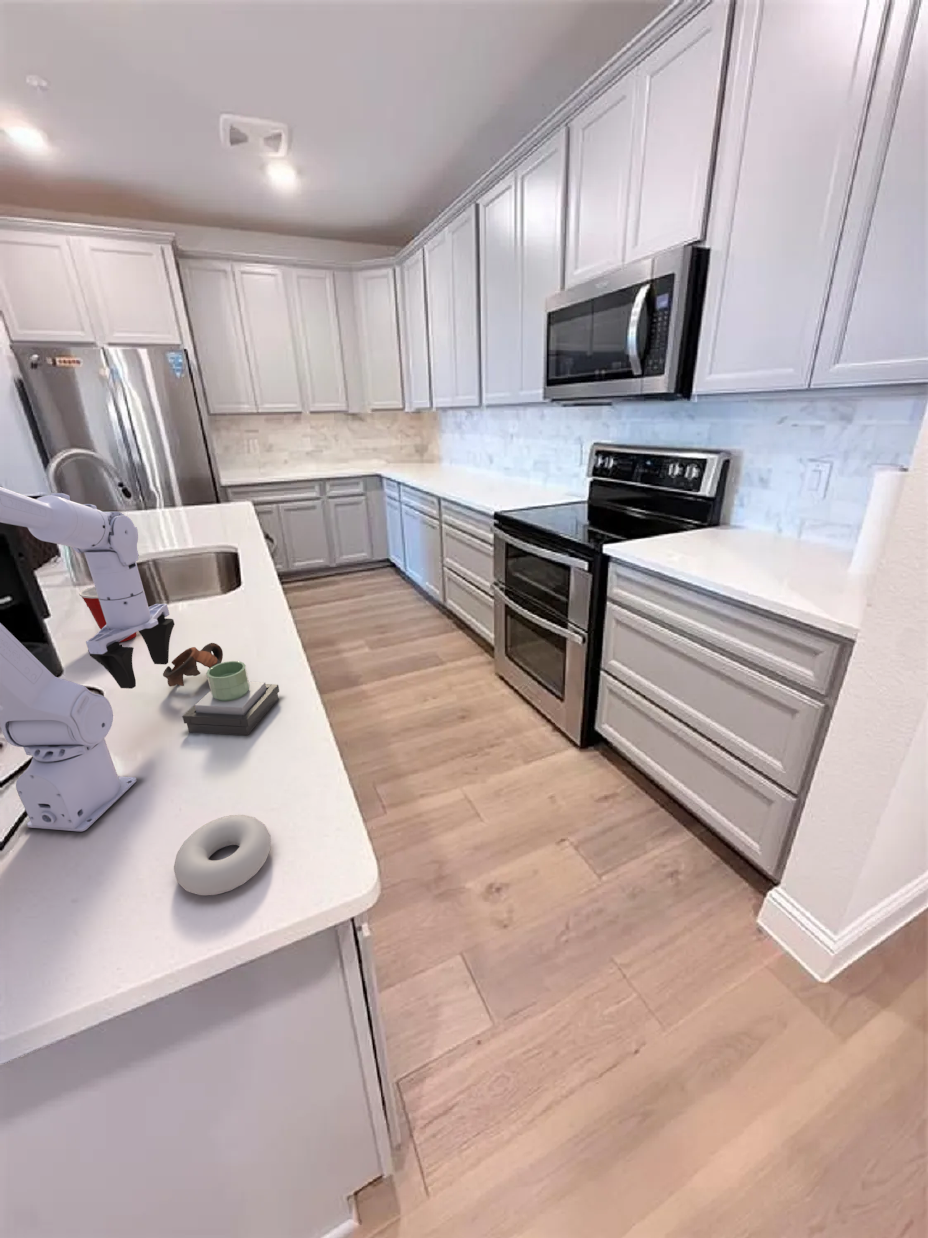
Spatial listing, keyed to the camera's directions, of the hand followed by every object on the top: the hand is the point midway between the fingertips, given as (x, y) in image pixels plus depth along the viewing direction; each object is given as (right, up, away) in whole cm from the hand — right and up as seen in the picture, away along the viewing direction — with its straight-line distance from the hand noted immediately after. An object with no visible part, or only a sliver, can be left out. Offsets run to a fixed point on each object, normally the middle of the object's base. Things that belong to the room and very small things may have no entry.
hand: (145, 674), depth 80 cm
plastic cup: (-28, +4, +36) cm, 46 cm away
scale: (+12, -7, +6) cm, 15 cm away
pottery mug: (+1, -3, +17) cm, 17 cm away
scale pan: (+12, -5, +5) cm, 14 cm away
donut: (+23, -19, -22) cm, 37 cm away
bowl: (+11, -4, +4) cm, 13 cm away
